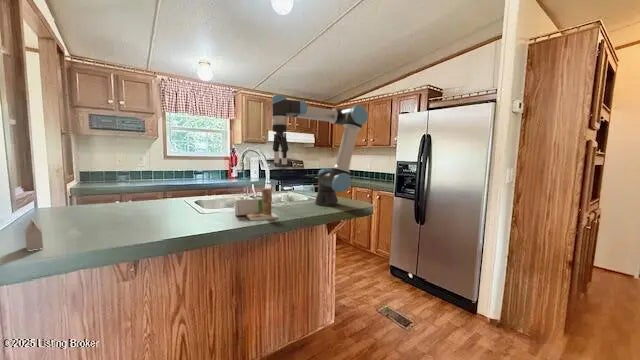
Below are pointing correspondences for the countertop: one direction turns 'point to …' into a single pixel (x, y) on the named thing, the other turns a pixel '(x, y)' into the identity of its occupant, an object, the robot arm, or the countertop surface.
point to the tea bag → (33, 236)
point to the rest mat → (264, 217)
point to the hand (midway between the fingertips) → (280, 163)
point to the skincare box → (248, 206)
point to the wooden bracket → (263, 205)
